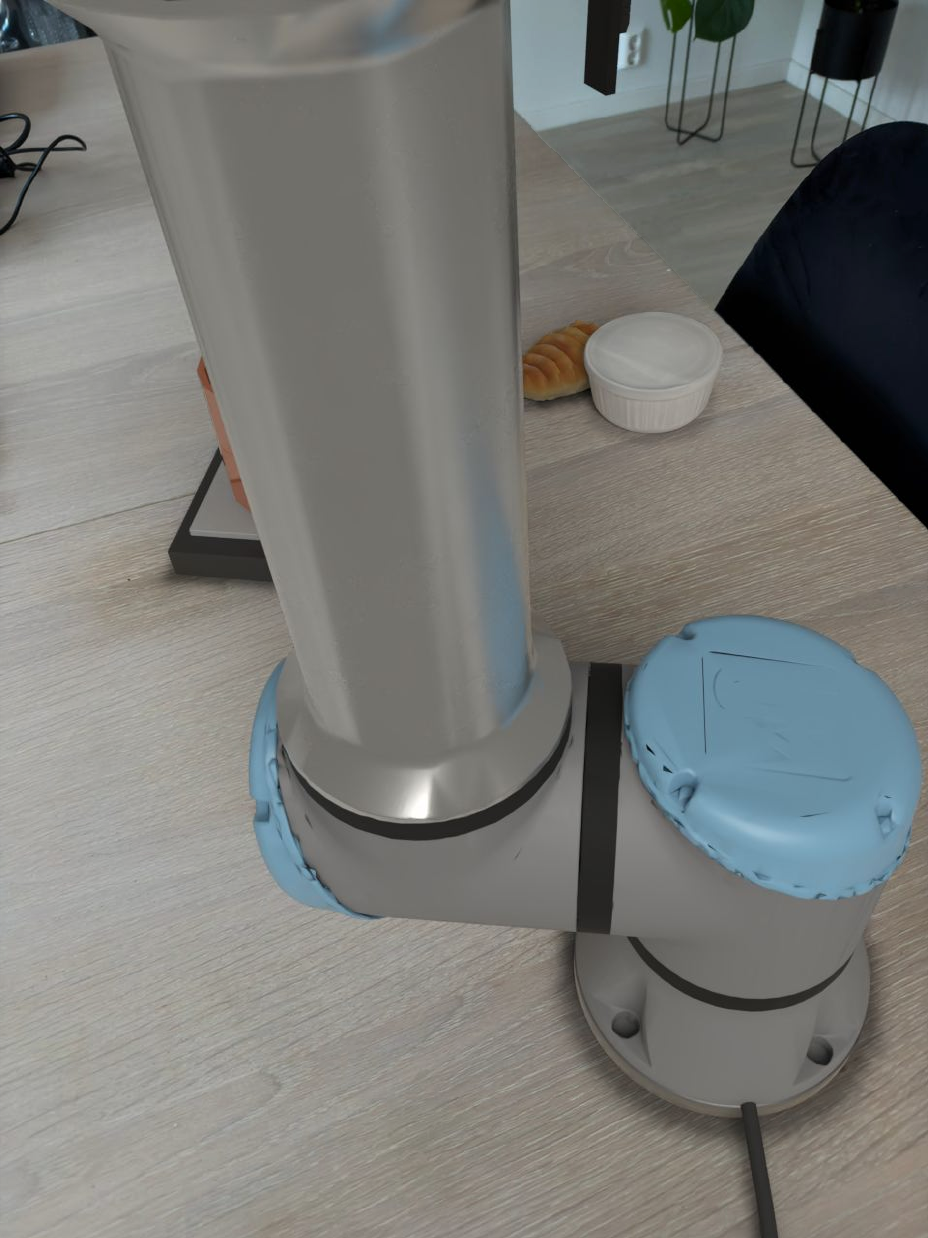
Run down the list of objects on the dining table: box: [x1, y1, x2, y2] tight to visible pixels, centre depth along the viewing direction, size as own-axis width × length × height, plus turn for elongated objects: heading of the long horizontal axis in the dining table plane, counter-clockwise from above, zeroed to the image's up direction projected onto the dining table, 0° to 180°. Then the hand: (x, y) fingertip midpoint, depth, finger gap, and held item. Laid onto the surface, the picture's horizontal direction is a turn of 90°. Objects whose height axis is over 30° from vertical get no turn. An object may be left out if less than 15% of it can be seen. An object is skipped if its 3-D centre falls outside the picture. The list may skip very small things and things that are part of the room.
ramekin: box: [584, 311, 724, 434], centre depth 91 cm, size 11×11×5 cm
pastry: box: [522, 319, 601, 402], centre depth 94 cm, size 9×7×4 cm
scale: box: [167, 446, 274, 583], centre depth 85 cm, size 16×16×3 cm
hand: (509, 108), depth 70 cm, fingers open, 13 cm apart
